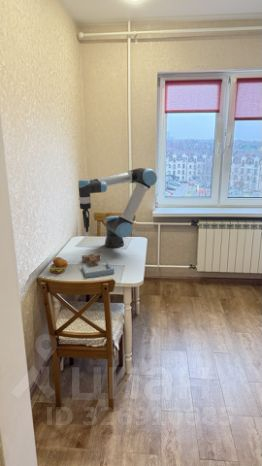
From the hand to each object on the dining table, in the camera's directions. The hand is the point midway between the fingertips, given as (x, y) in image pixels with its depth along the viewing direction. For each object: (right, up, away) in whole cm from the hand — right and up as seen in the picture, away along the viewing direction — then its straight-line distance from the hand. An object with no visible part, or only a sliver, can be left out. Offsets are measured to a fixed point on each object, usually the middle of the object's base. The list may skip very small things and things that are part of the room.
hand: (87, 235), depth 226 cm
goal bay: (+9, -22, -21) cm, 32 cm away
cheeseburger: (-15, -23, -20) cm, 34 cm away
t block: (+5, -18, -7) cm, 20 cm away
